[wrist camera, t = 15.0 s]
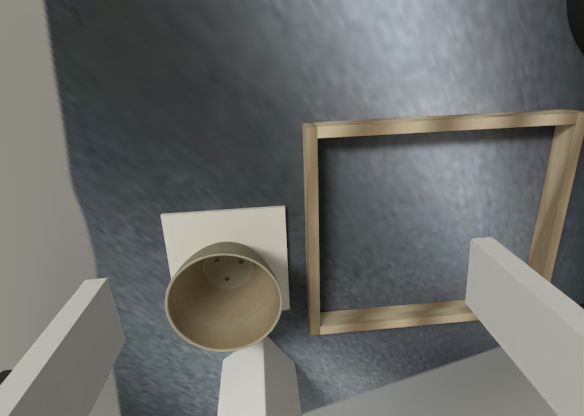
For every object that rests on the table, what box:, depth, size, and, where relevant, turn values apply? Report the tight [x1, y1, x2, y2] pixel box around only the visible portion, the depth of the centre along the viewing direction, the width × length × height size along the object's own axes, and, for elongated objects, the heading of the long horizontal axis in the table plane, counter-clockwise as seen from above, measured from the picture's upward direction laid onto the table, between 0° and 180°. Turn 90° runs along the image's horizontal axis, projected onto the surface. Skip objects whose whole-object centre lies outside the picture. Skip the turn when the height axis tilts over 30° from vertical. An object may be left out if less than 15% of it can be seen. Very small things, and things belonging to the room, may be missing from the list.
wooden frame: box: [302, 109, 584, 335], centre depth 40 cm, size 26×22×2 cm
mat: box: [161, 206, 290, 310], centre depth 41 cm, size 12×12×1 cm
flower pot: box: [165, 242, 283, 352], centre depth 37 cm, size 10×10×7 cm
